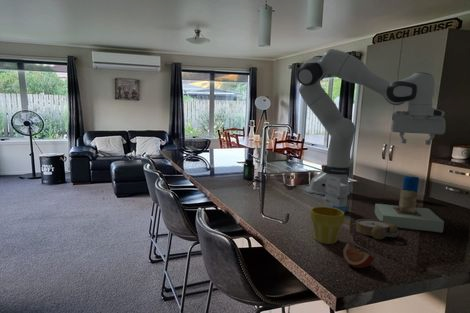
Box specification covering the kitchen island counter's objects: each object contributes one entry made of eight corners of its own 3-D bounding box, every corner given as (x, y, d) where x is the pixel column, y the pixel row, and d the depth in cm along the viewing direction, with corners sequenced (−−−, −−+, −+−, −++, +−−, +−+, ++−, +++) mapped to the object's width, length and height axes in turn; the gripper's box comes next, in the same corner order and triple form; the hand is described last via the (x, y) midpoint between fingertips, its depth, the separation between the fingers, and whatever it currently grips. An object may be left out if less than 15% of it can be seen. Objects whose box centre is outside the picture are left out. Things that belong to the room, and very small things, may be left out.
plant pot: (304, 233, 105) (306, 205, 104) (334, 233, 106) (336, 206, 105) (315, 246, 95) (317, 216, 94) (347, 246, 96) (350, 216, 94)
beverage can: (418, 201, 151) (421, 177, 149) (404, 200, 152) (406, 176, 150) (413, 198, 157) (416, 174, 155) (399, 197, 158) (402, 174, 157)
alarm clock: (372, 217, 116) (407, 224, 102) (372, 230, 116) (408, 239, 102) (348, 220, 112) (382, 227, 98) (349, 234, 112) (382, 243, 98)
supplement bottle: (246, 180, 185) (247, 160, 183) (241, 178, 191) (241, 158, 189) (256, 179, 188) (257, 160, 187) (250, 177, 194) (251, 158, 193)
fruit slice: (337, 260, 87) (338, 243, 86) (356, 256, 89) (357, 240, 89) (358, 275, 79) (360, 256, 78) (378, 271, 82) (380, 253, 81)
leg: (400, 222, 119) (403, 192, 118) (397, 219, 124) (400, 189, 122) (413, 224, 118) (417, 193, 116) (410, 220, 123) (413, 190, 121)
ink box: (346, 212, 130) (349, 178, 128) (338, 213, 128) (340, 178, 126) (332, 206, 138) (335, 174, 136) (323, 207, 136) (326, 174, 133)
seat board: (382, 225, 116) (383, 214, 115) (374, 212, 131) (375, 202, 130) (442, 232, 111) (444, 220, 110) (427, 218, 126) (428, 208, 125)
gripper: (394, 110, 132) (391, 143, 134) (449, 112, 127) (444, 145, 129) (391, 111, 138) (387, 141, 140) (443, 112, 133) (439, 144, 135)
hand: (415, 143), depth 134 cm, fingers open, 8 cm apart
